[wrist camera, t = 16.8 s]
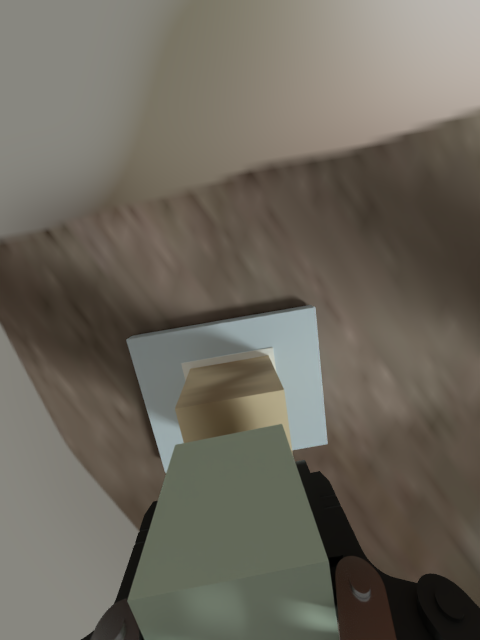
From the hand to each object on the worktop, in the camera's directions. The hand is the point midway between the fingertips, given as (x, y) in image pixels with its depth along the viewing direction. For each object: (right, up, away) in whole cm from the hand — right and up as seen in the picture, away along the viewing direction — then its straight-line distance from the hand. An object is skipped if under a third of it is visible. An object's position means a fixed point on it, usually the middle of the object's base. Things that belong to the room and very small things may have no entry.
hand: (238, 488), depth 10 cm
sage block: (0, 0, +1) cm, 0 cm away
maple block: (0, +2, +7) cm, 8 cm away
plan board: (0, +2, +8) cm, 9 cm away
